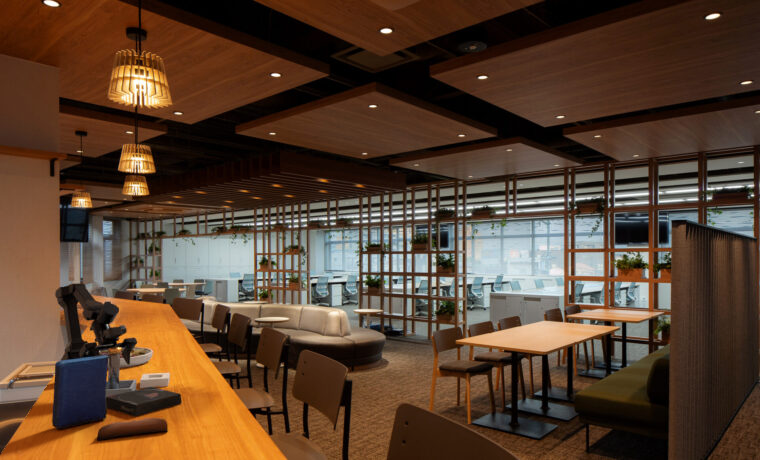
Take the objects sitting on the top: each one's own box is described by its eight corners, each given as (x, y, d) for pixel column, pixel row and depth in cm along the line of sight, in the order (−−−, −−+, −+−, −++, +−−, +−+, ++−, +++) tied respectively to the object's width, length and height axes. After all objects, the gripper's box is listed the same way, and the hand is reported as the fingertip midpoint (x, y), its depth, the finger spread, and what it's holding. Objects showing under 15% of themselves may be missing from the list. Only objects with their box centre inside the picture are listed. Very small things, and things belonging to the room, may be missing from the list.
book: (102, 416, 156) (105, 352, 157) (109, 420, 152) (112, 354, 154) (49, 428, 145) (53, 358, 146) (56, 432, 141) (60, 361, 142)
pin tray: (87, 401, 171) (88, 391, 171) (95, 391, 184) (96, 381, 184) (131, 398, 176) (131, 388, 176) (135, 388, 189) (136, 379, 189)
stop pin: (103, 393, 178) (105, 349, 179) (112, 390, 183) (114, 346, 183) (113, 394, 177) (115, 349, 178) (122, 391, 182) (124, 347, 182)
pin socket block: (139, 387, 190) (140, 379, 190) (142, 381, 200) (143, 374, 200) (168, 386, 194) (168, 378, 194) (169, 380, 203) (169, 372, 203)
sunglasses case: (165, 423, 151) (167, 407, 148) (166, 442, 145) (168, 425, 142) (98, 431, 142) (98, 414, 140) (96, 452, 137) (96, 434, 134)
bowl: (84, 359, 240) (85, 342, 241) (152, 355, 253) (153, 339, 253) (75, 372, 213) (76, 354, 214) (152, 367, 226) (153, 350, 226)
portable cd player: (181, 405, 171) (182, 393, 171) (135, 418, 156) (135, 405, 157) (151, 397, 179) (152, 386, 180) (105, 409, 165) (106, 396, 165)
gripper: (84, 320, 176) (98, 356, 169) (136, 316, 191) (150, 348, 184) (73, 340, 180) (86, 375, 173) (124, 334, 195) (138, 367, 188)
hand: (116, 366), depth 180 cm, fingers open, 9 cm apart
